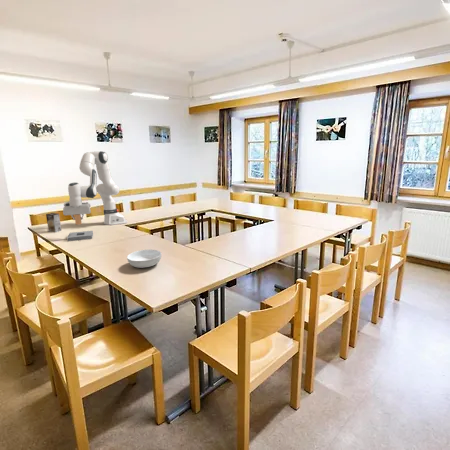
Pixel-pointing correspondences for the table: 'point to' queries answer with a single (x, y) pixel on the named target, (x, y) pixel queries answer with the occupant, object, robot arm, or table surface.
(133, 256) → the serving bowl
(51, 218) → the coffee box
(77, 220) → the plug
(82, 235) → the socket plate
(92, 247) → the table surface
